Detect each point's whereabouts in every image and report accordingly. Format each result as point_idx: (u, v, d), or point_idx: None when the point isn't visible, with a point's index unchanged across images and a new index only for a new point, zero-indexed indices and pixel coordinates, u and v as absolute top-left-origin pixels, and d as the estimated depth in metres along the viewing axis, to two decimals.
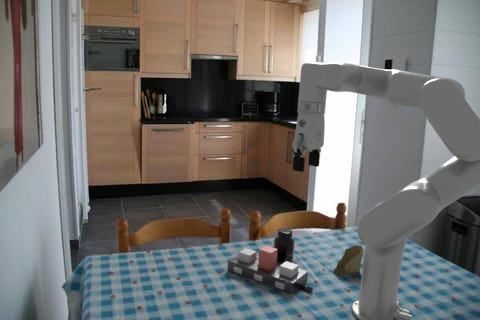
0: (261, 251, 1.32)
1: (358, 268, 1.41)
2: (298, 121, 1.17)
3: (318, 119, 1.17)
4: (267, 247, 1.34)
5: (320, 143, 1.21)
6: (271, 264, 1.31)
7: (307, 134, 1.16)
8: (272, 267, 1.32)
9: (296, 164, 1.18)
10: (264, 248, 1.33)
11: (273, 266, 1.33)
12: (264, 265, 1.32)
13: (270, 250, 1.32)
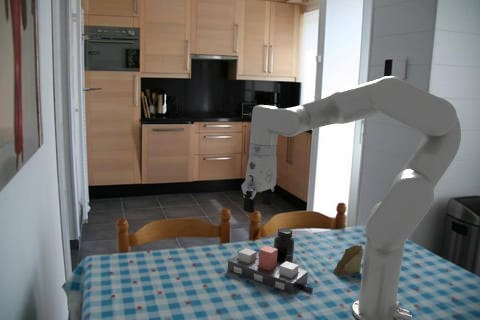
0: (261, 251, 1.32)
1: (358, 268, 1.41)
2: (248, 163, 1.19)
3: (268, 161, 1.19)
4: (267, 247, 1.34)
5: (271, 184, 1.23)
6: (271, 264, 1.31)
7: (256, 176, 1.17)
8: (272, 267, 1.32)
9: (246, 205, 1.19)
10: (264, 248, 1.33)
11: (273, 266, 1.33)
12: (264, 265, 1.32)
13: (270, 250, 1.32)
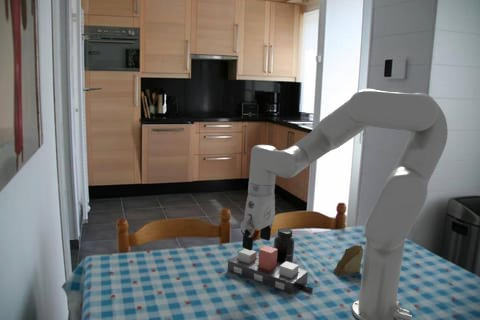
0: (261, 251, 1.32)
1: (358, 268, 1.41)
2: (247, 202, 1.21)
3: (266, 200, 1.22)
4: (267, 247, 1.34)
5: (270, 221, 1.26)
6: (271, 264, 1.31)
7: (255, 215, 1.20)
8: (272, 267, 1.32)
9: (245, 243, 1.22)
10: (264, 248, 1.33)
11: (273, 266, 1.33)
12: (264, 265, 1.32)
13: (270, 250, 1.32)
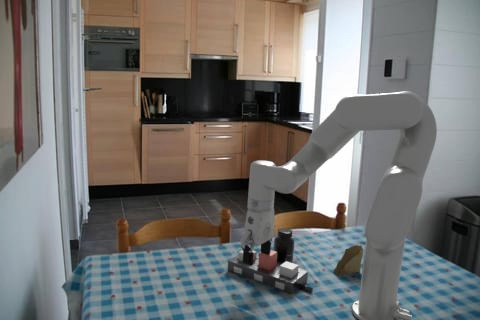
0: (261, 254, 1.32)
1: (358, 268, 1.41)
2: (247, 217, 1.22)
3: (266, 215, 1.23)
4: None
5: (270, 235, 1.26)
6: (271, 267, 1.32)
7: (255, 231, 1.21)
8: None
9: (245, 258, 1.23)
10: None
11: None
12: (264, 268, 1.32)
13: (270, 252, 1.32)
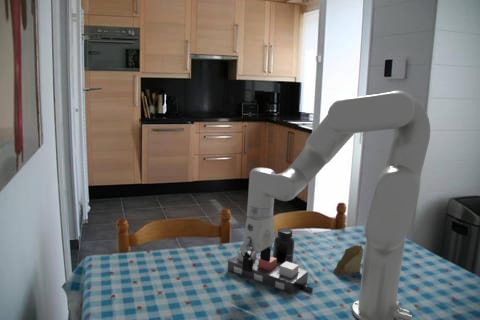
0: (260, 260, 1.33)
1: (358, 268, 1.41)
2: (247, 225, 1.23)
3: (265, 222, 1.23)
4: None
5: (269, 242, 1.27)
6: None
7: (254, 238, 1.21)
8: None
9: (245, 265, 1.23)
10: None
11: None
12: None
13: None
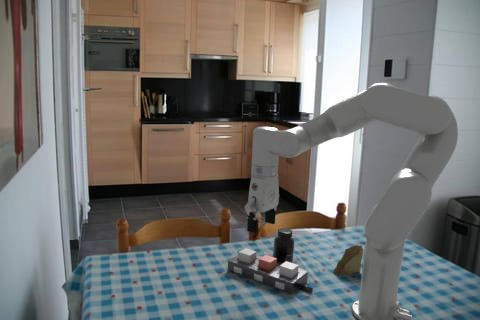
0: (260, 260, 1.33)
1: (358, 268, 1.41)
2: (251, 184, 1.20)
3: (270, 182, 1.21)
4: (266, 256, 1.35)
5: (274, 203, 1.25)
6: None
7: (259, 197, 1.19)
8: None
9: (250, 226, 1.21)
10: (263, 257, 1.34)
11: None
12: None
13: (269, 259, 1.33)
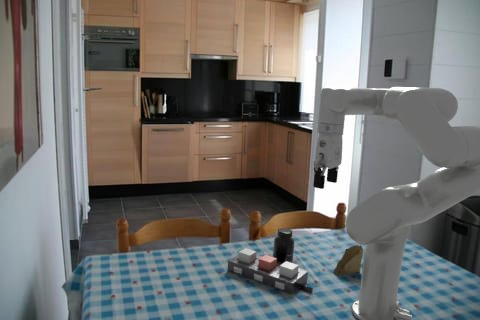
0: (260, 260, 1.33)
1: (358, 268, 1.41)
2: (318, 141, 1.25)
3: (337, 139, 1.26)
4: (266, 256, 1.35)
5: (338, 161, 1.30)
6: None
7: (327, 154, 1.24)
8: None
9: (317, 181, 1.26)
10: (263, 257, 1.34)
11: None
12: None
13: (269, 259, 1.33)
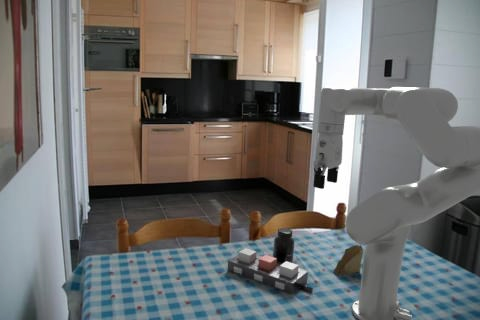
0: (260, 260, 1.33)
1: (358, 268, 1.41)
2: (319, 141, 1.25)
3: (337, 139, 1.26)
4: (266, 256, 1.35)
5: (338, 161, 1.30)
6: None
7: (327, 154, 1.24)
8: None
9: (317, 181, 1.26)
10: (263, 257, 1.34)
11: None
12: None
13: (269, 259, 1.33)
